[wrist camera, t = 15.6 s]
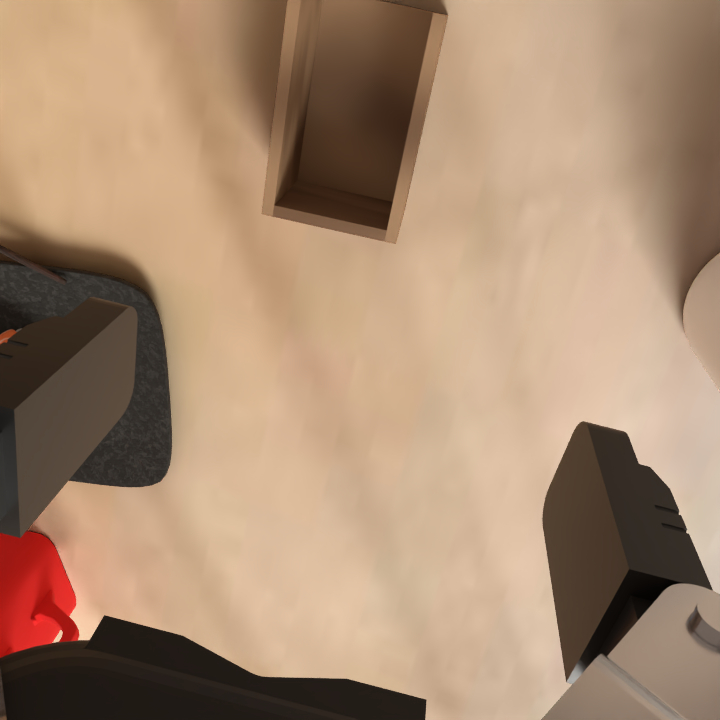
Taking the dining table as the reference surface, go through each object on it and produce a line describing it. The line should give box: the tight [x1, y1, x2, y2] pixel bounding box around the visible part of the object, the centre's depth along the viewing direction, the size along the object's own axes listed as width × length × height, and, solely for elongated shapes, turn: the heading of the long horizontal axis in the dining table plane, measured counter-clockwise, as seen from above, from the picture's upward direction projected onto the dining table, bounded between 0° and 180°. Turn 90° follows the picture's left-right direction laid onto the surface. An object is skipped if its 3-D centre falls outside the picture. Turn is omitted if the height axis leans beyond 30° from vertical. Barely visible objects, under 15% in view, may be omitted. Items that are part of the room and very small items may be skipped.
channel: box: [262, 0, 448, 244], centre depth 30 cm, size 9×6×6 cm, turn 169°
